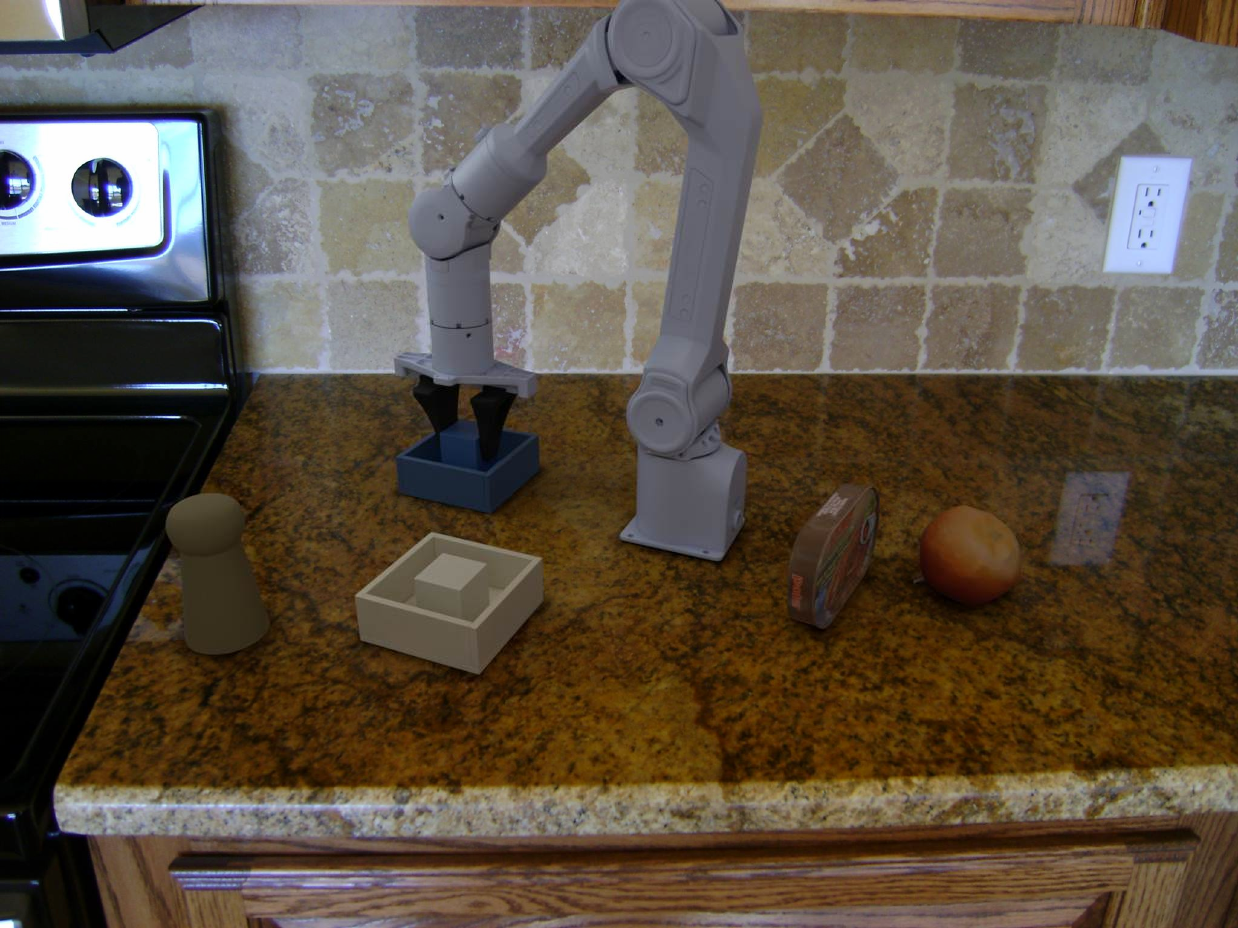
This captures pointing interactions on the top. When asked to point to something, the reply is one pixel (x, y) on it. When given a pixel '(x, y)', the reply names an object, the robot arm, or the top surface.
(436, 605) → the cream block
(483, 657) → the cream bin
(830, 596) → the tin
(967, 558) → the fruit
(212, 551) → the cork
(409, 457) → the blue bin
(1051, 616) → the top surface
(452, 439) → the blue block
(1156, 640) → the top surface
